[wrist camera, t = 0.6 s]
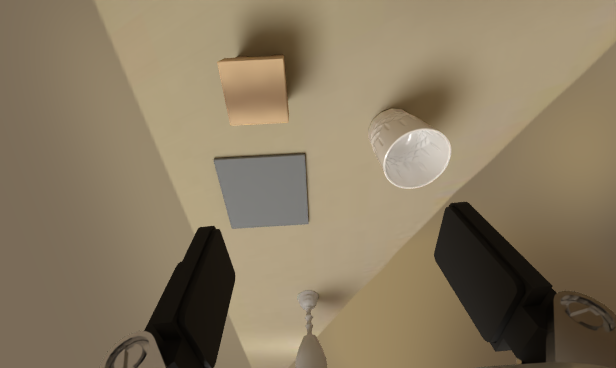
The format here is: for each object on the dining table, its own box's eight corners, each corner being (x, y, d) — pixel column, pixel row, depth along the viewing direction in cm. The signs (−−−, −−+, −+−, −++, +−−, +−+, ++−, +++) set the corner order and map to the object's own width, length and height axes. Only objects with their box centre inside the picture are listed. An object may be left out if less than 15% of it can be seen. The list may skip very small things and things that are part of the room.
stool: (233, 53, 32) (217, 62, 25) (285, 51, 32) (282, 58, 25) (242, 106, 35) (230, 125, 29) (289, 103, 35) (288, 122, 29)
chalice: (318, 307, 62) (325, 400, 47) (290, 305, 61) (289, 399, 46) (325, 289, 58) (336, 383, 43) (296, 286, 57) (297, 381, 42)
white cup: (359, 152, 40) (376, 187, 32) (370, 101, 36) (393, 125, 27) (407, 155, 41) (436, 190, 32) (424, 106, 36) (462, 131, 28)
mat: (214, 158, 39) (213, 160, 39) (304, 153, 40) (304, 155, 39) (232, 226, 47) (231, 228, 46) (308, 221, 47) (308, 224, 47)
